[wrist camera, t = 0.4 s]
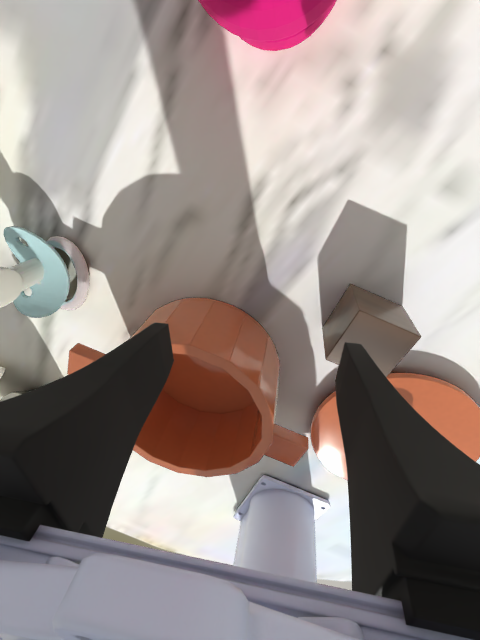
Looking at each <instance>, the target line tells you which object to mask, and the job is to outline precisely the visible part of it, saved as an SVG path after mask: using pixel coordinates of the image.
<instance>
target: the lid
mask: <svg viewBox="0 0 480 640" xmlns="http://www.w3.org/2000/svg"><path fill="white" fill-rule="evenodd" d="M386 378H387V379H388V380H389V381H390V383H391V384H392V385H393V386H394V388H395V389H396V390H397V391H398V392H399V393H400V395H401V396H402V397H403V398H404V399H405V400H406V401H407V402H408V403H409V404H410V405H411V406H412V407H413V408H414V410H415V411H416V412H418V413H419V414H420V415H421V416H422V417H423V418H424V419H425V420H426V421H427V422H428V423H429V424H430V425H431V426H432V427H433V428H434V429H436V430H437V431H438V432H439V433H440V434H441V435H443V436H444V437H445V438H446V439H447V440H449V441H450V442H451V443H452V444H453V445H455V446H456V447H457V448H458V449H459V450H461V451H462V452H463V453H465V454H466V455H467V456H468V457H470V458H471V459H472V460H474V461H475V462H476V461H477V460H478V459H479V457H480V408H479V406H478V405H477V404H476V402H475V401H474V400H473V399H472V398H471V397H470V396H469V395H468V394H467V393H466V392H464V391H463V390H461V389H460V388H458V387H457V386H455V385H453V384H451V383H449V382H446V381H444V380H441V379H438V378H435V377H431V376H427V375H422V374H414V373H390V374H389V375H388V376H387V377H386ZM311 442H312V446H313V449H314V451H315V453H316V455H317V456H318V458H319V459H320V460H321V462H322V463H323V464H324V465H325V466H326V467H327V468H328V469H329V470H331V471H332V472H333V473H335V474H336V475H338V476H340V477H341V478H343V479H346V480H348V477H347V465H346V457H345V451H344V445H343V440H342V434H341V428H340V422H339V416H338V410H337V404H336V391H334V392H333V393H332V394H330V395H329V396H328V397H327V398H326V399H325V400H324V401H323V402H322V403H321V404H320V406H319V407H318V409H317V410H316V412H315V414H314V417H313V419H312V423H311Z"/></svg>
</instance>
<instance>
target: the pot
mask: <svg viewBox="0 0 480 640" xmlns="http://www.w3.org/2000/svg"><path fill="white" fill-rule="evenodd" d="M155 322H156V323H165V324H168V325H169V332H170V338H171V345H172V351H173V357H174V362H173V365H172V368H171V371H170V374H169V376H168V379H167V381H166V383H165V385H164V387H163V389H162V391H161V393H160V395H159V397H158V399H157V401H156V402H155V404H154V406H153V408H152V410H151V412H150V414H149V416H148V417H147V419H146V421H145V423H144V425H143V427H142V429H141V431H140V433H139V436H138V438H137V441H136V443H135V445H134V448H133V450H134V451H135V452H137V453H138V454H139V455H141V456H142V457H144V458H145V459H146V460H148V461H150V462H152V463H155V464H157V465H160V466H162V467H165V468H167V469H170V470H172V471H175V472H178V473H184V474H190V475H197V476H204V477H212V476H220V475H229V474H236V473H238V472H240V471H242V470H244V469H246V468H248V467H250V466H252V465H254V464H256V463H258V462H259V461H260V459H261V458H262V457H263V455H266V456H268V457H271V458H273V459H276V460H278V461H281V462H283V463H285V464H288V465H290V466H293V467H294V466H295V464H296V463H297V462H298V461H299V460H300V458H301V457H302V456H303V455H304V453H305V452H306V451H307V450H308V437H305V436H303V435H300V434H298V433H295V432H293V431H291V430H288V429H286V428H283V427H281V426H279V425H276V424H275V417H276V407H277V397H278V388H279V371H280V361H279V357H278V353H277V350H276V347H275V345H274V343H273V341H272V339H271V338H270V336H269V335H268V333H267V332H266V331H265V329H264V328H263V327H262V326H261V325H260V324H259V323H258V322H257V321H256V320H255V319H253V318H252V317H251V316H250V315H248V314H247V313H245V312H244V311H242V310H241V309H239V308H237V307H234V306H232V305H230V304H227V303H225V302H222V301H218V300H213V299H207V298H186V299H180V300H176V301H173V302H170V303H168V304H166V305H163V306H162V307H160V308H158V309H156V310H155V311H154V312H153V313H152V314H151V315H150V317H149V318H148V319H147V320H146V321H145V322H144V323H143V324H142V325H141V326H140V327H139V329H138V330H137V331H136V332H135V333H134V334H133V335H132V336H131V337H130V338H132V337H133V336H135V335H136V334H138V333H139V332H141V331H142V330H144V329H145V328H147V327H148V326H150V325H151V324H153V323H155ZM104 355H106V354H104V353H101V352H99V351H97V350H94V349H92V348H89V347H87V346H84V345H82V344H80V343H77V344H76V345H75V346H74V347H73V348H72V349H71V350H70V351H69V361H68V373H67V374H68V375H69V374H71V373H73V372H75V371H77V370H79V369H81V368H83V367H85V366H87V365H89V364H91V363H92V362H94V361H96V360H97V359H99V358H101V357H102V356H104Z"/></svg>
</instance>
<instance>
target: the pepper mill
mask: <svg viewBox="0 0 480 640" xmlns="http://www.w3.org/2000/svg"><path fill="white" fill-rule="evenodd" d="M198 1H199V2H200V4H201V5H202V6H203V8H204V9H205V10H206V12H207V13H208V14H209V15H210V16H211V17H212V18H213V19H214V20H215V21H216V22H217V23H218V24H219V25H221V26H222V27H224V28H225V29H227V30H228V31H230V32H231V33H233V34H235V35H237V36H239V37H240V38H241V39H242V40H244V41H245V42H247V43H248V44H250V45H252V46H254V47H256V48H259V49H262V50H272V51H277V50H282V49H287V48H291V47H293V46H295V45H297V44H299V43H301V42H302V41H303V40H305V39H306V38H308V37H309V36H310V35H311V34H312V33H313V32H314V31H315V30H316V29H317V28H318V27H319V26H320V25H321V24H322V23H323V21H324V20H325V19H326V17H327V16H328V14H329V13H330V11H331V10H332V8H333V6H334V4H335V2H336V0H198Z"/></svg>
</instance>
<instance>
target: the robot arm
mask: <svg viewBox="0 0 480 640" xmlns="http://www.w3.org/2000/svg"><path fill="white" fill-rule="evenodd" d="M173 362H174V357H173V351H172V345H171V338H170V332H169V325H168V324H165V323H156V322H155V323H153V324H151V325H150V326H148V327H147V328H145V329H144V330H142V331H141V332H139V333H138V334H136V335H135V336H133V337H132V338H130V339H129V340H127V341H126V342H124V343H123V344H121V345H120V346H118V347H117V348H115V349H114V350H112V351H111V352H109V353H107V354H106V355H104V356H102V357H101V358H99V359H97V360H96V361H94V362H92V363H91V364H89V365H87V366H85V367H83V368H81V369H79V370H77V371H75V372H73V373H71V374H69V375H67V376H65V377H63V378H61V379H58V380H56V381H54V382H51V383H49V384H47V385H45V386H42V387H40V388H37V389H35V390H32V391H29V392H27V393H24V394H21V395H18V396H16V397H13V398H10V399H7V400H4V401H1V402H0V640H480V465H479V464H478V463H476V462H475V461H474V460H472V459H471V458H470V457H468V456H467V455H466V454H465V453H463V452H462V451H461V450H459V449H458V448H457V447H456V446H455V445H453V444H452V443H451V442H450V441H449V440H447V439H446V438H445V437H444V436H443V435H441V434H440V433H439V432H438V431H437V430H436V429H434V428H433V427H432V426H431V425H430V424H429V423H428V422H427V421H426V420H425V419H424V418H423V417H422V416H421V415H420V414H419V413H418V412H416V411H415V410H414V408H413V407H412V406H411V405H410V404H409V403H408V402H407V401H406V400H405V399H404V398H403V397H402V396H401V395H400V393H399V392H398V391H397V390H396V389H395V388H394V386H393V385H392V384H391V383H390V381H389V380H388V379H387V378H386V376H385V375H384V374H383V373H382V371H381V370H380V369H379V367H378V366H377V365H376V363H375V362H374V361H373V359H372V358H371V356H370V355H369V354H368V352H367V351H366V350H365V348H364V347H363V346H362V344H357V343H348V342H345V344H344V348H343V352H342V356H341V360H340V364H339V368H338V372H337V376H336V380H335V382H336V404H337V410H338V416H339V422H340V428H341V434H342V440H343V445H344V451H345V457H346V465H347V477H348V492H349V510H350V531H351V559H352V591H351V590H346V589H342V588H337V587H332V586H328V585H323V584H318V583H317V576H316V544H315V520H316V519H318V518H319V517H320V516H321V515H322V514H323V513H324V512H325V511H326V510H327V509H328V508H329V507H330V502H329V501H328V500H326V499H323V498H321V497H318V496H316V495H313V494H311V493H308V492H306V491H304V490H301V489H299V488H296V487H294V486H291V485H289V484H286V483H284V482H281V481H279V480H276V479H274V478H272V477H269V476H266V475H263V476H262V477H261V478H260V479H259V480H258V482H257V483H256V485H255V486H254V487H253V489H252V490H251V491H250V493H249V494H248V495H247V497H246V498H245V499H244V501H243V502H242V503H241V505H240V506H239V507H238V509H237V510H236V512H235V513H234V518H235V519H237V520H239V521H241V522H240V528H239V534H238V541H237V547H236V553H235V559H234V565H228V564H224V563H219V562H214V561H209V560H205V559H200V558H195V557H190V556H186V555H181V554H176V553H171V552H167V551H162V550H157V549H152V548H147V547H143V546H138V545H133V544H129V543H124V542H119V541H115V540H110V539H105V538H102V537H103V534H104V531H105V527H106V524H107V521H108V518H109V515H110V512H111V508H112V505H113V502H114V500H115V497H116V494H117V491H118V488H119V485H120V482H121V479H122V477H123V474H124V471H125V469H126V466H127V463H128V461H129V458H130V455H131V453H132V450H133V448H134V445H135V443H136V441H137V438H138V436H139V433H140V431H141V429H142V427H143V425H144V423H145V421H146V419H147V417H148V416H149V414H150V412H151V410H152V408H153V406H154V404H155V402H156V401H157V399H158V397H159V395H160V393H161V391H162V389H163V387H164V385H165V383H166V381H167V379H168V376H169V374H170V371H171V368H172V365H173Z"/></svg>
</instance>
